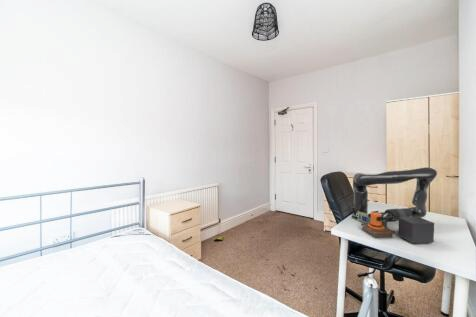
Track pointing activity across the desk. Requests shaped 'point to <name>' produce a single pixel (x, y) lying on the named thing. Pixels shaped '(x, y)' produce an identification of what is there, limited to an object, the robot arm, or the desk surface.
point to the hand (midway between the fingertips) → (372, 217)
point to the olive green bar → (366, 218)
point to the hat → (375, 221)
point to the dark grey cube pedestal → (416, 230)
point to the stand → (378, 231)
